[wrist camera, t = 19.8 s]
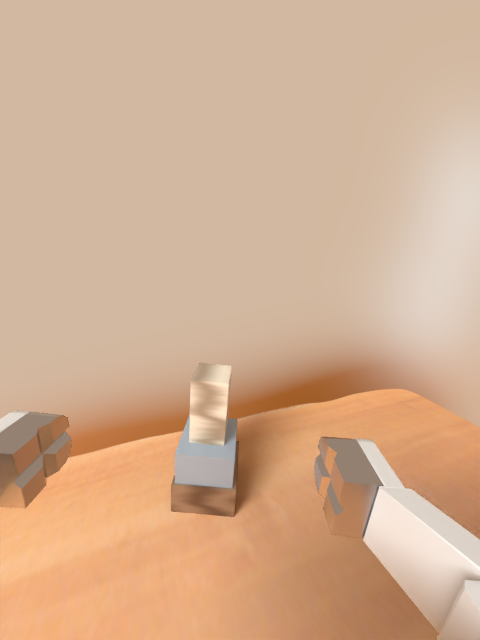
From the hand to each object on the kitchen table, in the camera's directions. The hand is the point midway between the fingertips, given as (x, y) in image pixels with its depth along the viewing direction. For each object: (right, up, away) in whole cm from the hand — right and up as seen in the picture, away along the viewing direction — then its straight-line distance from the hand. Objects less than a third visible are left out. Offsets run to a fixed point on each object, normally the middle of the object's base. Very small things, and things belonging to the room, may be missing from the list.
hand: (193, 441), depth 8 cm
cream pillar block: (-3, -13, +28) cm, 31 cm away
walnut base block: (-4, -23, +30) cm, 38 cm away
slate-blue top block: (-3, -18, +29) cm, 34 cm away
